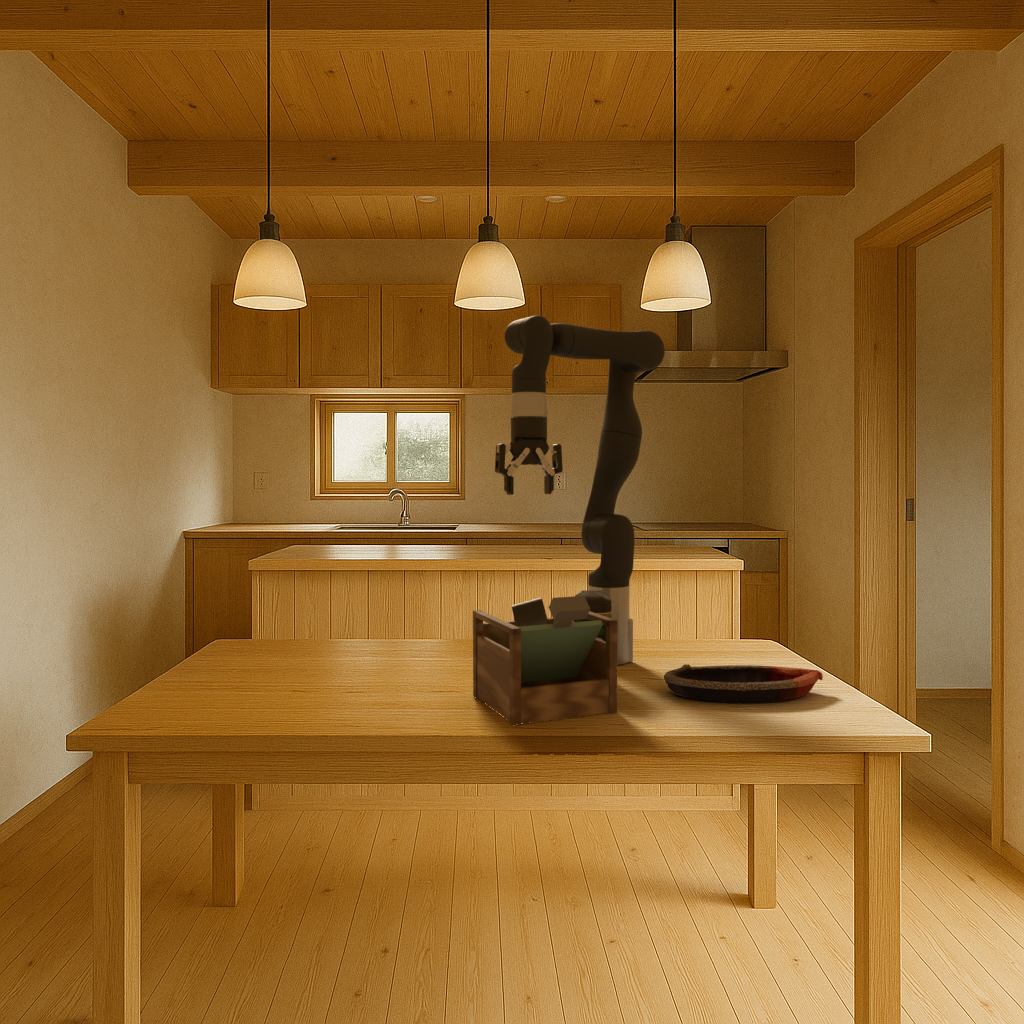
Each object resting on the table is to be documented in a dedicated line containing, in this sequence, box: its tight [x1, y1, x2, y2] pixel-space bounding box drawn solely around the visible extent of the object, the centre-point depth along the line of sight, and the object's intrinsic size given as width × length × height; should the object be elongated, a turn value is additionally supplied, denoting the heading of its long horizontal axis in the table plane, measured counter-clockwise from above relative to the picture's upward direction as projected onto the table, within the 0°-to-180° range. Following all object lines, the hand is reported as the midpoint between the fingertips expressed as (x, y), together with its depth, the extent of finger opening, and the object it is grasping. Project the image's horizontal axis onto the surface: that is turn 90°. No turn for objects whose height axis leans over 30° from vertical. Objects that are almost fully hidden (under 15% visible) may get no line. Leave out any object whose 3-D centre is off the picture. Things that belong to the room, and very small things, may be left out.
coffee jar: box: [573, 589, 612, 642], centre depth 170 cm, size 10×8×19 cm
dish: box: [663, 663, 824, 704], centre depth 161 cm, size 16×31×5 cm, turn 90°
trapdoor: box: [519, 595, 603, 683], centre depth 150 cm, size 16×22×3 cm
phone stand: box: [511, 596, 549, 627], centre depth 158 cm, size 9×6×12 cm
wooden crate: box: [472, 609, 618, 726], centre depth 154 cm, size 20×20×16 cm
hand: (529, 494), depth 173 cm, fingers open, 8 cm apart
